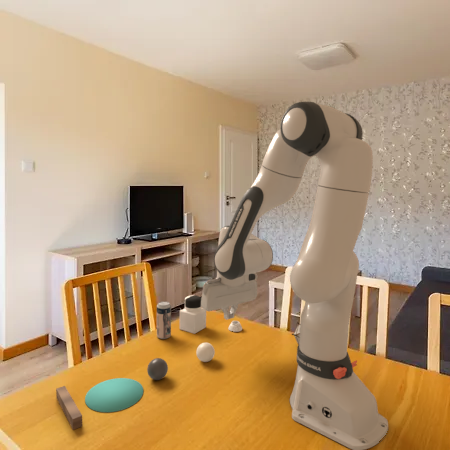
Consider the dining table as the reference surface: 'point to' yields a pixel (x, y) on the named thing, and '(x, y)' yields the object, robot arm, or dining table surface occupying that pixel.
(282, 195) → the robot arm
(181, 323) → the medicine bottle
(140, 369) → the dining table surface
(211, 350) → the cue ball
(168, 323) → the beer can
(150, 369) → the dark grey ball
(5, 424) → the dining table surface
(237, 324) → the white jar
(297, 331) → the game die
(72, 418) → the walnut rail
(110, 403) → the teal mark
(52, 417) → the dining table surface
